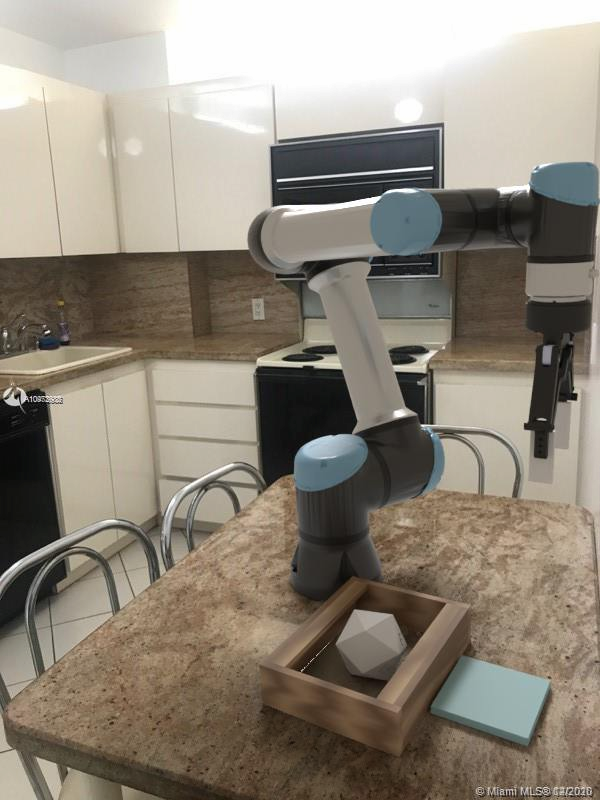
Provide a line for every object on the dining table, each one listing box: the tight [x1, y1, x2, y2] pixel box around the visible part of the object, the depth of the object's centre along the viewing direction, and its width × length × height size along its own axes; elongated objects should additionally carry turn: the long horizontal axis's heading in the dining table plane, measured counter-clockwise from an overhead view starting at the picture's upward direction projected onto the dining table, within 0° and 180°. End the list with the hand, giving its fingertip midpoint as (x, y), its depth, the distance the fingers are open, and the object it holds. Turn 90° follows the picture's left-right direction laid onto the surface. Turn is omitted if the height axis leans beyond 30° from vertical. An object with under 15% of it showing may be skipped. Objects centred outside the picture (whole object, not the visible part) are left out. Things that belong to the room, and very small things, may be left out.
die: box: [335, 609, 408, 682], centre depth 85 cm, size 8×9×10 cm
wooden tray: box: [258, 576, 472, 758], centre depth 85 cm, size 18×24×6 cm
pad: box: [430, 654, 552, 747], centre depth 79 cm, size 11×11×1 cm
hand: (549, 463), depth 85 cm, fingers open, 13 cm apart
